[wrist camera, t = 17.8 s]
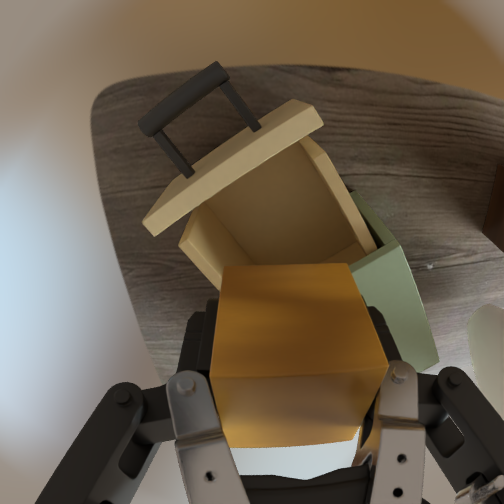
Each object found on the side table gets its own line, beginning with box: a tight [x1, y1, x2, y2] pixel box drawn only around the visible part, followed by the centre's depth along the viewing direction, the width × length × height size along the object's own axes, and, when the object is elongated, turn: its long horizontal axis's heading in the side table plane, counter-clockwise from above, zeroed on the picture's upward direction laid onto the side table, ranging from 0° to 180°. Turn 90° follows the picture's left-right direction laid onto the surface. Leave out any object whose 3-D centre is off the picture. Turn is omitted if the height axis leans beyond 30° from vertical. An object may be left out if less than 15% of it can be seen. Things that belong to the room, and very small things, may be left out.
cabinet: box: [348, 190, 440, 373], centre depth 26 cm, size 15×13×10 cm
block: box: [209, 263, 389, 448], centre depth 10 cm, size 5×5×5 cm
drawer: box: [138, 61, 378, 291], centre depth 21 cm, size 18×11×8 cm, turn 34°
